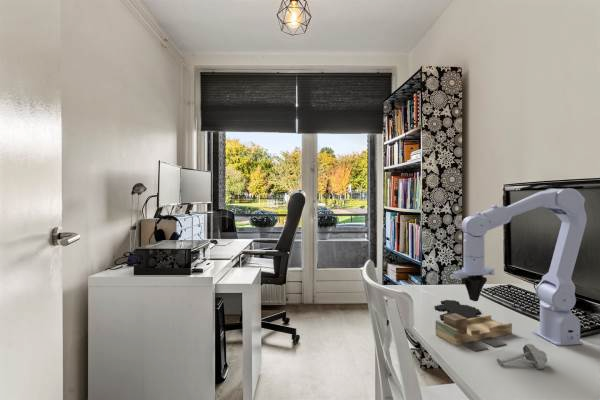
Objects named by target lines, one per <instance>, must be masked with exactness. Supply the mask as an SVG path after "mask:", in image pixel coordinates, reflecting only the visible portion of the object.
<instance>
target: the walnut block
mask: <svg viewBox="0 0 600 400" xmlns="http://www.w3.org/2000/svg"><path fill="white" fill-rule="evenodd" d="M443 323H445V324H447V325H449V326H451V327H453V328H455V329H457V330H458V333H461V334H466V333H467V318H465V317H463V316H461V315H458V314H456V313H454V314H448V315H444V320H443Z"/></svg>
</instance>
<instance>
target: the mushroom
mask: <svg viewBox="0 0 600 400" xmlns="http://www.w3.org/2000/svg"><path fill="white" fill-rule="evenodd" d="M522 351H523V353H520V354H517V355H514V356H513V357H508V358H504V359H503V358H502V359H501V358H496V362H497V365H500V366H502V365H503V364H507V363H511V362H515V361H517V360H520V361H523V362H526V363H527V362H528V363H530V364H532V363H533V364H534V365H536V366H535V369H536V370H537V369H538V370H542V369H544V368H545V367H546V363H547V362H548V357H547V354H546V352H545V351H544V350H540V349H539V348H538V347H536V346H535V345H534V344H532V343H525V345H524V346H522Z"/></svg>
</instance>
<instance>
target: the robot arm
mask: <svg viewBox="0 0 600 400" xmlns="http://www.w3.org/2000/svg"><path fill="white" fill-rule="evenodd" d="M585 202H586V198H585V197H584V196H583V194H581V193H580V191H579V190H577V189H575V188H569V187H567V188H552V187H551V188H547V189H545V190H541V191H538V192H536V193H533V194H532V195H528V196H527V197H525V198H523V199H520V200H518V201H516V202H514V203H511V204H509V205H507V206H504V205H501V204H499V205H497V204H493V205H491V206H490V208H489V209H486V210H483V211H482V212H480V211H477V212H475V215H469V216H466V217H465V218H463V219H462V221H461V224H460V225H459V226H460V229H461V230H462V232H463V240H462V241H463V267H461V269H458V270H456V271H452V278H453V279H455V280H462V282H463V284H464V286H465V288H466V291H467V294H468V297H469V300H470V301H473V302H478V301H479V300H480V296H481V294H482V293H481V292H482V289H483V287H484V285H486V283H487V281H488V278H487V277H485V276H488V275H490V276H494V275H495V268H493V267H485V235H486V234H487V232H488V231H490V230H493V229H497V228H499V227H501V226H503V225H507V224H508V223H510V222H511V220H512V218H513V217H514V216H518V215H520V214H523V213H526V212H529V211H532V210H535V209H537V208H540V207H541V208H546V209H547V210H548V211H551V212H552V213H554V214H555V216H557V218H558V219H559V220H560V221H561V224H560V228H559V232H558V235H557V240H556V243H555V248H554V251H553V254H552V259H551V261H550V262H551V263H550V266H549V269H548V272H547V273H545V274H544V275H543V276H541V280H540V282H539V283H538V284H537V285H536V287H535V295H536V297H537V298H538V299H539V329H536V330H534V329H533V330H532V333H534V334H535V335H537V336H539V337H541V338H543V339H544V340H547V341H548V342H551V343H552V344H553V345H555V346H569V345H570V346H571V345H582V344H583V341H581V321H580V319H579V317H578V316H576V315H575V314H574V313H573V312H572V309H573V308H574V307H575V305H576V302H577V297H576V295H575V292H576V285H575V284H574V282H573V280H572V276H573V273H574V269H575V265H576V261H577V258H578V254H579V252H580V247H581V244H582V241H583V237H584V232H585V229H586V224H587V223H588V222H587V221H588V220H587V219H588V217H587V214H586V209H585Z"/></svg>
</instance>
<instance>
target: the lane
mask: <svg viewBox="0 0 600 400" xmlns="http://www.w3.org/2000/svg"><path fill="white" fill-rule="evenodd" d="M480 316H481V315H480ZM512 334H513V323H511V322H506V323H502V322H499V321H497V320H494V319H492V315H491V314H487V315H482V316H481V317H475V318H470V319H467V333H466V334H461V333H458V330H457V329H455V328H453V327H451V326H449V325H447V324H445V323H444V321H441V320H438V319H437V320H435V336H438V337H440V338H441V339H444V340H445V341H447V342H449V343H451V344H452V345H454V346H459V345H462V346H464V347H466V348H468V349H469V350H471V351H474V352H476V353H477V352H481V351H484V350H488V349H489V347H487V346H485V345H483V344H481V343H480V342H477V341H481V342H483V343H485V344H487V345H489V346H492V347H493V348H498V347H499V348H500V347H502V346H507V343H506V342H504V341H502V340H500V339H497V338H498V337H502V336H505V335H512Z"/></svg>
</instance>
